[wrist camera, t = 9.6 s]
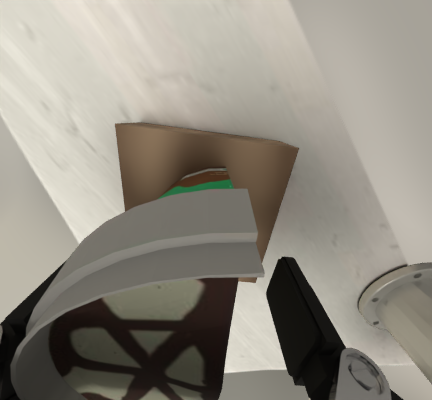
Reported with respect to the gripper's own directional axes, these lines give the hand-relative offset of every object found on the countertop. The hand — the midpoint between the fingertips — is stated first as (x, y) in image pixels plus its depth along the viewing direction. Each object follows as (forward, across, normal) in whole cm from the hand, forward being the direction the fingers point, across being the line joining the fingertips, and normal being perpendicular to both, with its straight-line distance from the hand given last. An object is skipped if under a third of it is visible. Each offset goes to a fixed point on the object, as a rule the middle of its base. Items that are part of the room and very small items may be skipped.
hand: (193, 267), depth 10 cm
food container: (+5, +2, 0) cm, 5 cm away
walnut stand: (+9, 0, 0) cm, 9 cm away
